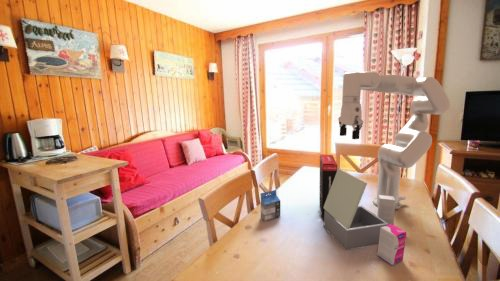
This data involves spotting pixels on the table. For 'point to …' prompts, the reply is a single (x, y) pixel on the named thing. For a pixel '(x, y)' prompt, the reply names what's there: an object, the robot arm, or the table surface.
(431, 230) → the table surface
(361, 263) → the table surface
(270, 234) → the table surface
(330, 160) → the graphics card box
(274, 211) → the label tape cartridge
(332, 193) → the box lid
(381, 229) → the supplement box
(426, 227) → the table surface
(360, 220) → the storage box
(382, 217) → the skincare box
